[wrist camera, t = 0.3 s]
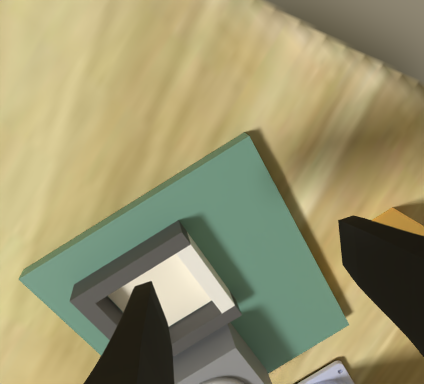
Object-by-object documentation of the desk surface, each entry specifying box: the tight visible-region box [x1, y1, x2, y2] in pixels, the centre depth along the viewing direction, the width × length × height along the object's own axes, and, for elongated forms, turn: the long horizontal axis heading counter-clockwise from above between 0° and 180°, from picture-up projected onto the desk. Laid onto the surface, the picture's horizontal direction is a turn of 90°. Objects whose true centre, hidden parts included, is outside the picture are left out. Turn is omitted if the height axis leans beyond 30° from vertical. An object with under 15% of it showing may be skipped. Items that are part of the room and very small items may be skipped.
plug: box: [372, 207, 424, 236], centre depth 23 cm, size 4×4×7 cm
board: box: [19, 132, 349, 384], centre depth 23 cm, size 18×16×4 cm
